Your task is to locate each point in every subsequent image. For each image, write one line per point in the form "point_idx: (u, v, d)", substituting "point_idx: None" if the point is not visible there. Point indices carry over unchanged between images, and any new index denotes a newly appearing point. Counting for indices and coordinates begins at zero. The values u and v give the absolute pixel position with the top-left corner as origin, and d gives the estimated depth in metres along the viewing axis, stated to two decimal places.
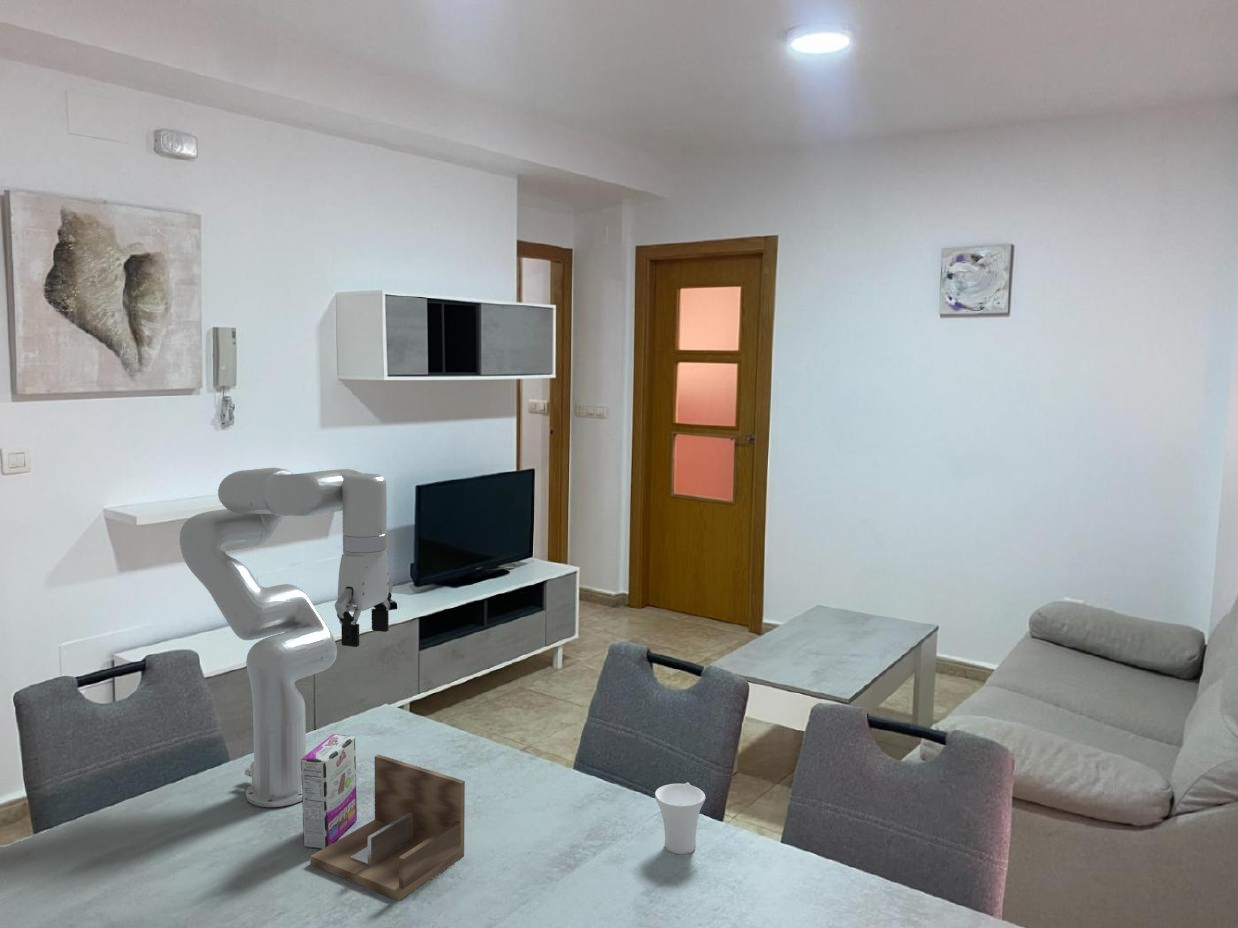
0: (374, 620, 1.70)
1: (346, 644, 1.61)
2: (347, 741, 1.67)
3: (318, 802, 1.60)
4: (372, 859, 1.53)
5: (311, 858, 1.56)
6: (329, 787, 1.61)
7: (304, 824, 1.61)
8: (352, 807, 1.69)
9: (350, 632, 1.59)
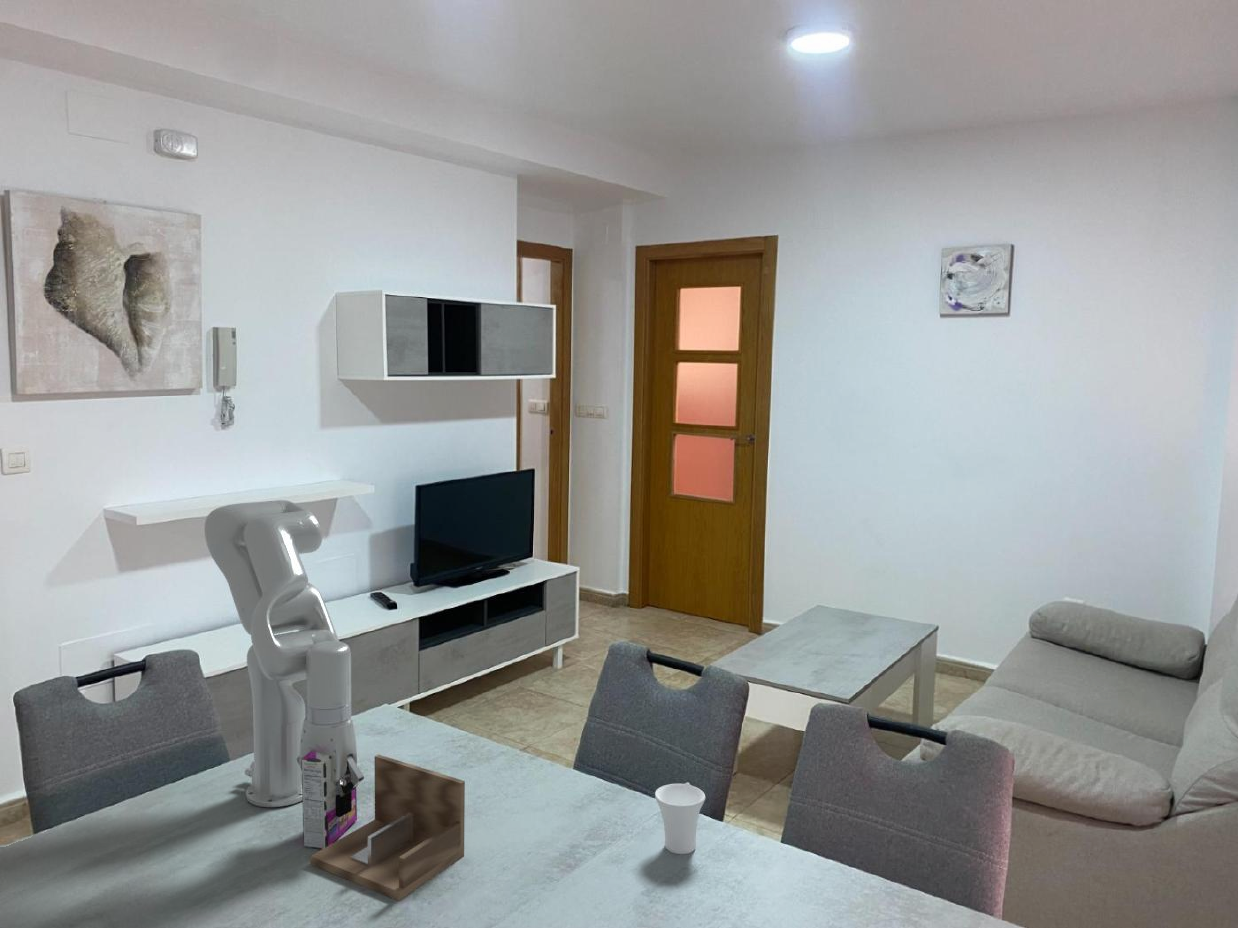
0: None
1: (342, 814, 1.64)
2: None
3: (318, 801, 1.60)
4: (372, 859, 1.53)
5: (311, 858, 1.56)
6: (329, 787, 1.61)
7: (304, 823, 1.61)
8: (352, 807, 1.69)
9: (350, 798, 1.64)
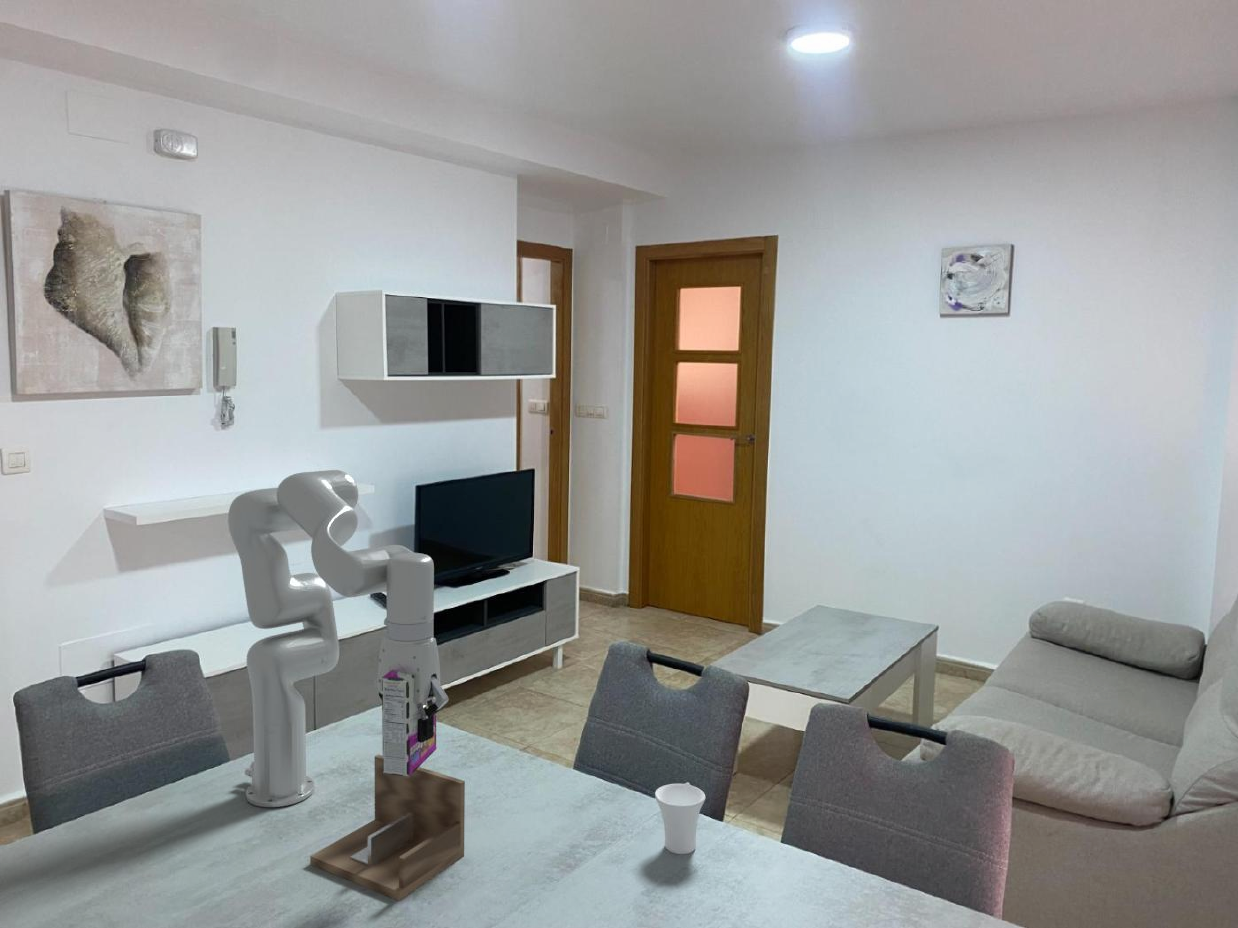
0: None
1: (424, 739, 1.51)
2: None
3: (400, 724, 1.47)
4: (372, 859, 1.53)
5: (311, 858, 1.56)
6: (411, 709, 1.48)
7: (384, 748, 1.49)
8: None
9: (433, 723, 1.52)
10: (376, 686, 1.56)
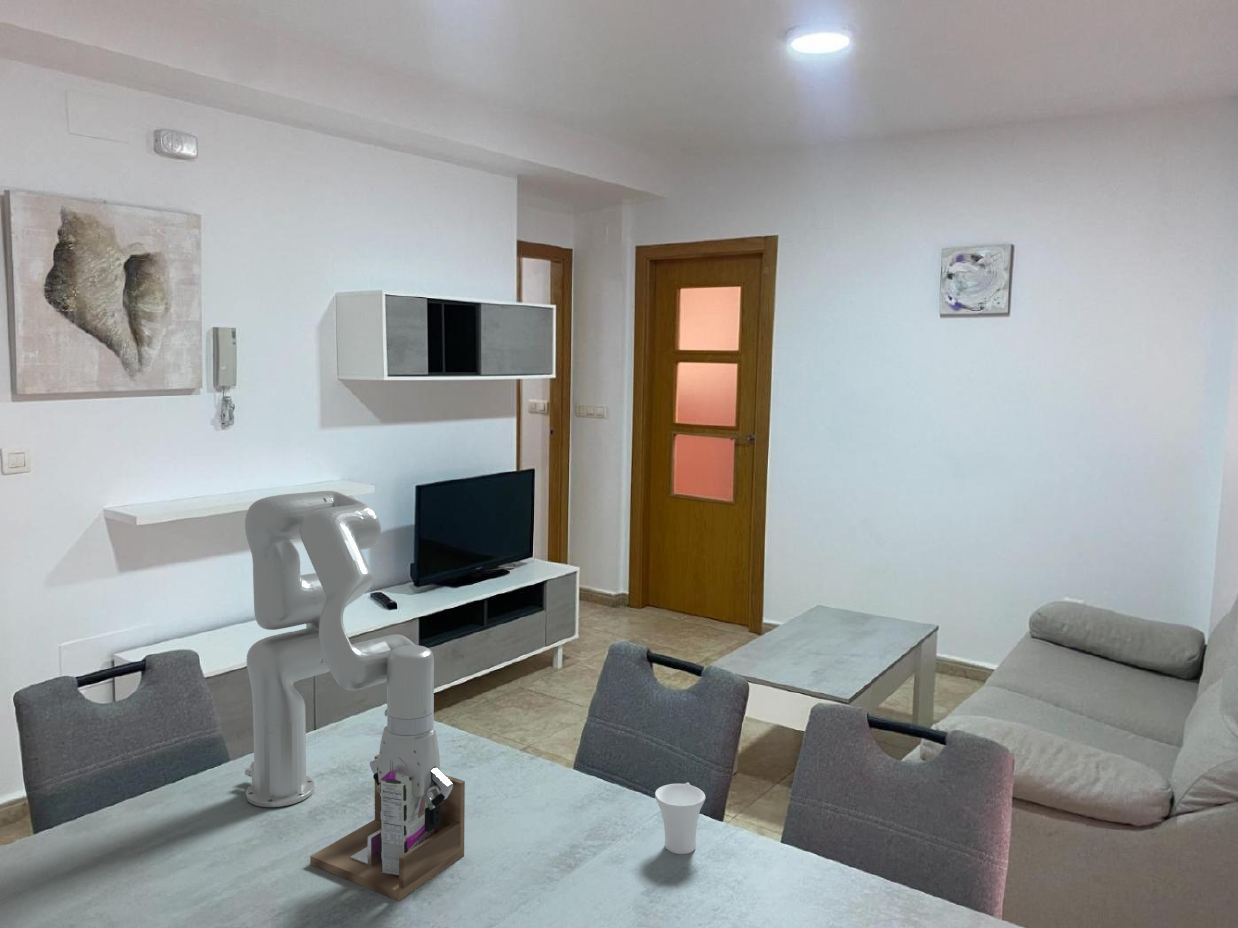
0: None
1: (431, 828, 1.52)
2: None
3: (397, 826, 1.49)
4: (372, 859, 1.53)
5: (311, 858, 1.56)
6: (409, 811, 1.50)
7: (383, 849, 1.51)
8: (432, 831, 1.58)
9: (440, 811, 1.52)
10: (372, 767, 1.58)
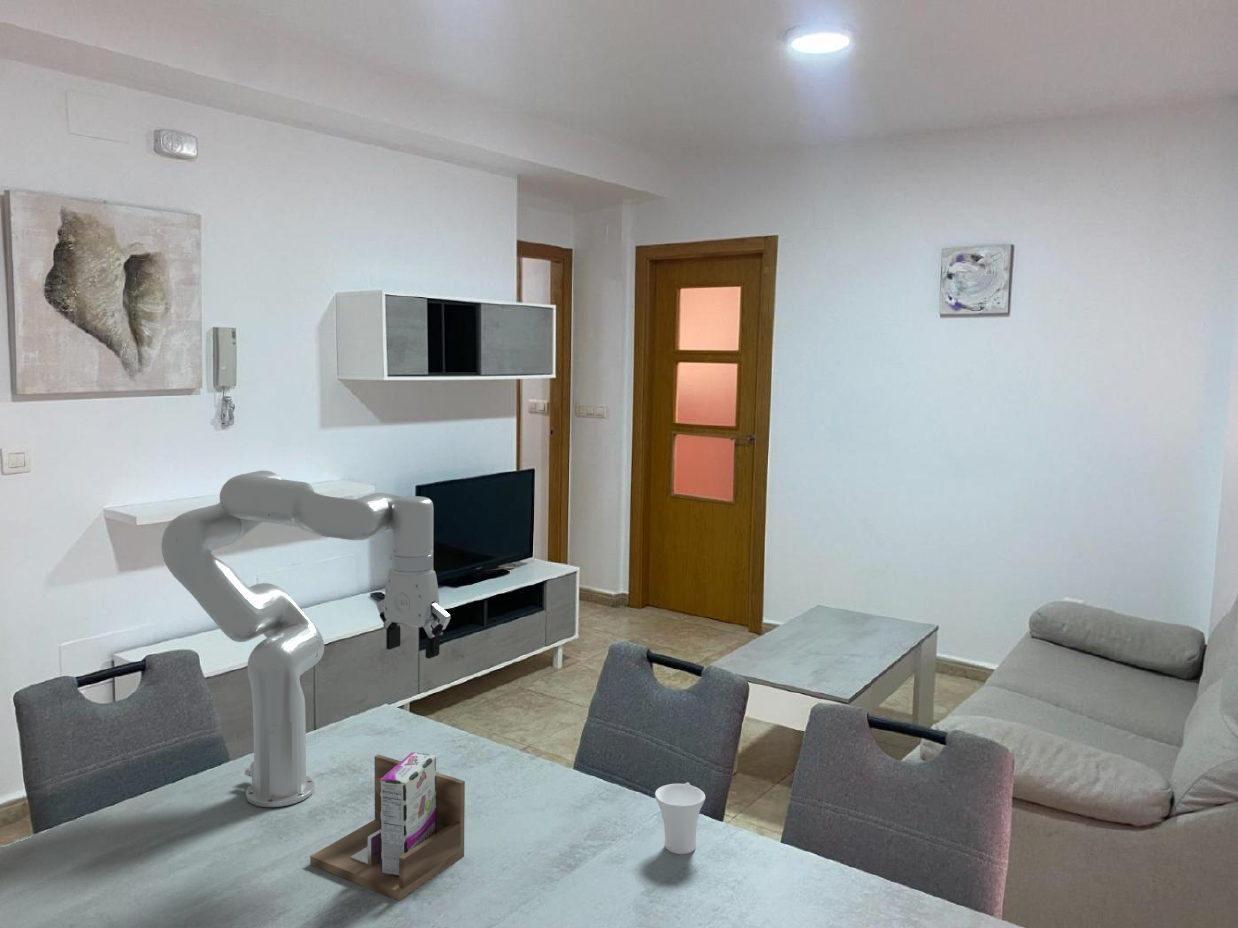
0: (391, 639, 1.76)
1: (431, 656, 1.72)
2: (428, 760, 1.56)
3: (397, 826, 1.49)
4: (372, 859, 1.53)
5: (311, 858, 1.56)
6: (409, 811, 1.50)
7: (382, 849, 1.51)
8: (432, 831, 1.58)
9: (439, 642, 1.72)
10: (379, 607, 1.77)
